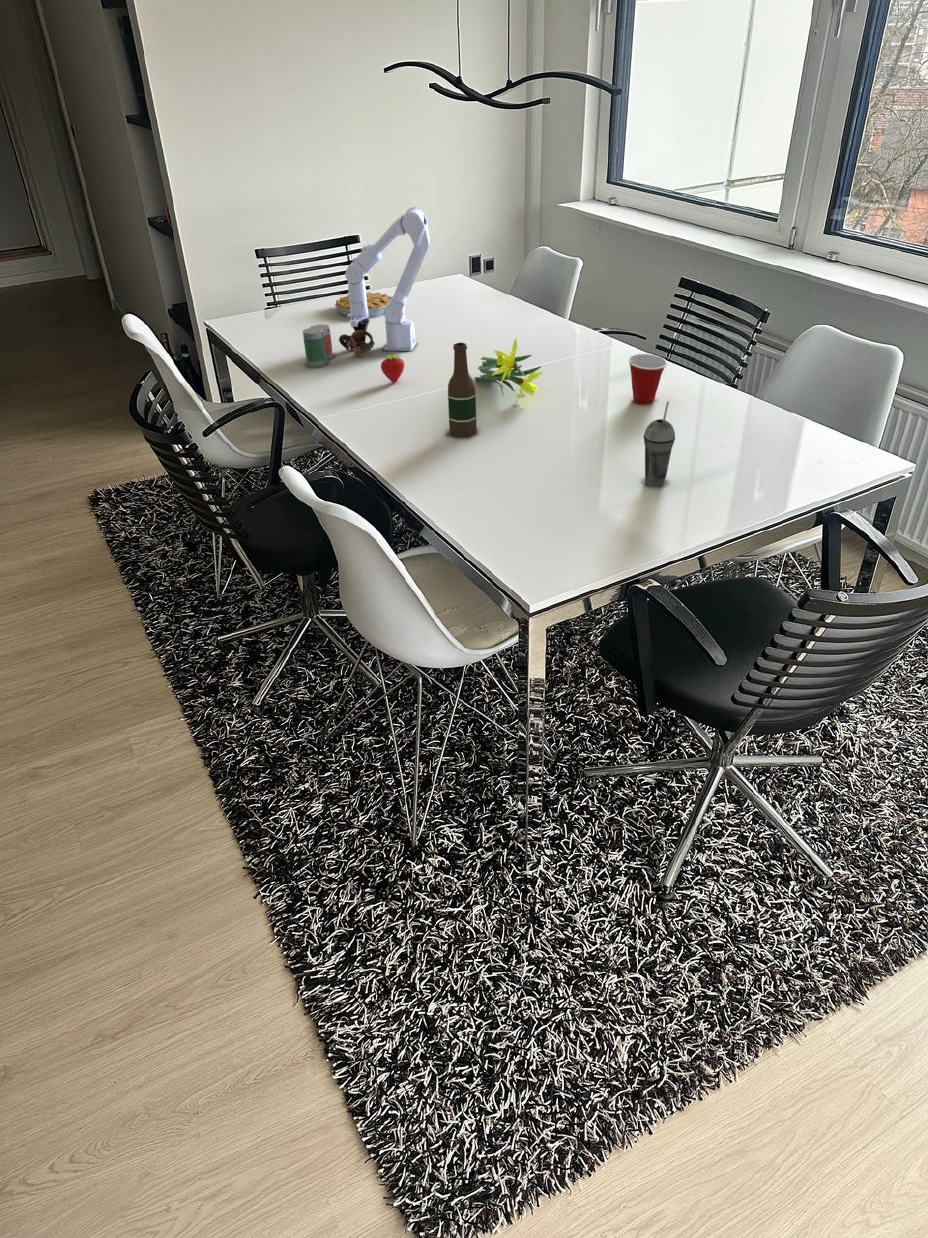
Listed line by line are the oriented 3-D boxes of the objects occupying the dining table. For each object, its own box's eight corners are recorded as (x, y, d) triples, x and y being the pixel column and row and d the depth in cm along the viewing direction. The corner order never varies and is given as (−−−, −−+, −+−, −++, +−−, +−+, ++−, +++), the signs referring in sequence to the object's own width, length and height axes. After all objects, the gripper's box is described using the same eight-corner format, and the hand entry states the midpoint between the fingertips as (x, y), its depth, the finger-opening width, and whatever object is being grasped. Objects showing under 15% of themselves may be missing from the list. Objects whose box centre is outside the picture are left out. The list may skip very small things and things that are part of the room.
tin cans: (335, 354, 298) (331, 321, 292) (323, 367, 288) (319, 333, 281) (316, 354, 299) (312, 320, 293) (304, 367, 289) (299, 333, 282)
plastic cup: (650, 410, 249) (653, 368, 242) (617, 401, 255) (620, 360, 249) (670, 399, 256) (675, 358, 249) (638, 391, 262) (642, 350, 255)
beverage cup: (636, 476, 215) (642, 396, 204) (665, 474, 216) (674, 395, 204) (643, 490, 209) (651, 408, 198) (674, 488, 210) (683, 406, 198)
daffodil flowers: (517, 374, 279) (565, 379, 248) (483, 406, 278) (527, 415, 247) (485, 331, 272) (530, 330, 240) (450, 363, 271) (491, 366, 240)
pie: (369, 322, 328) (368, 308, 325) (324, 314, 338) (323, 300, 335) (404, 307, 343) (404, 293, 340) (360, 300, 353) (359, 287, 350)
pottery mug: (374, 348, 304) (377, 330, 297) (370, 368, 300) (372, 351, 292) (340, 340, 303) (341, 322, 295) (334, 360, 298) (336, 342, 291)
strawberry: (378, 382, 275) (376, 350, 269) (400, 377, 278) (398, 345, 272) (386, 387, 271) (384, 355, 265) (409, 383, 274) (407, 350, 268)
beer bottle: (481, 428, 243) (479, 340, 229) (472, 439, 237) (469, 349, 223) (454, 425, 245) (450, 338, 231) (444, 436, 239) (440, 347, 225)
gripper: (352, 294, 301) (356, 335, 309) (340, 306, 290) (344, 348, 297) (372, 295, 300) (376, 335, 308) (361, 307, 288) (365, 349, 296)
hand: (362, 341), depth 302 cm, fingers closed
